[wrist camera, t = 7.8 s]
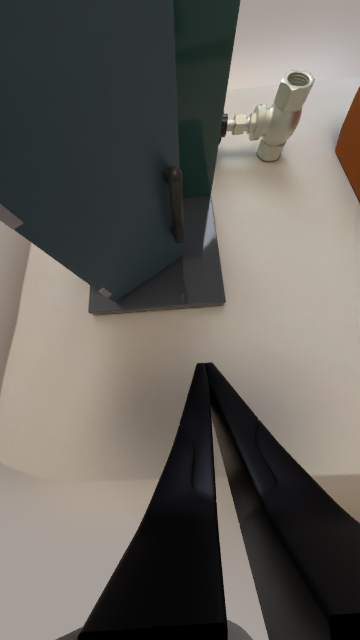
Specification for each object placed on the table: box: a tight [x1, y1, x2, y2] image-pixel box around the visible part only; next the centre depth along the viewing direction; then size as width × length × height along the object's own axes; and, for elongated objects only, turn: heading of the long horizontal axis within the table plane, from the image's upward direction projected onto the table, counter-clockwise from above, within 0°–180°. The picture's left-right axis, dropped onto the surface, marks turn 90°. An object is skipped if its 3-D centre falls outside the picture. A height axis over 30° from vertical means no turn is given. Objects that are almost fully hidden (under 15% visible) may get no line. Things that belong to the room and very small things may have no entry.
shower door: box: [0, 0, 184, 302], centre depth 11 cm, size 2×10×15 cm, turn 126°
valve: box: [218, 70, 315, 161], centre depth 21 cm, size 7×7×12 cm
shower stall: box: [89, 0, 240, 315], centre depth 13 cm, size 16×16×15 cm
